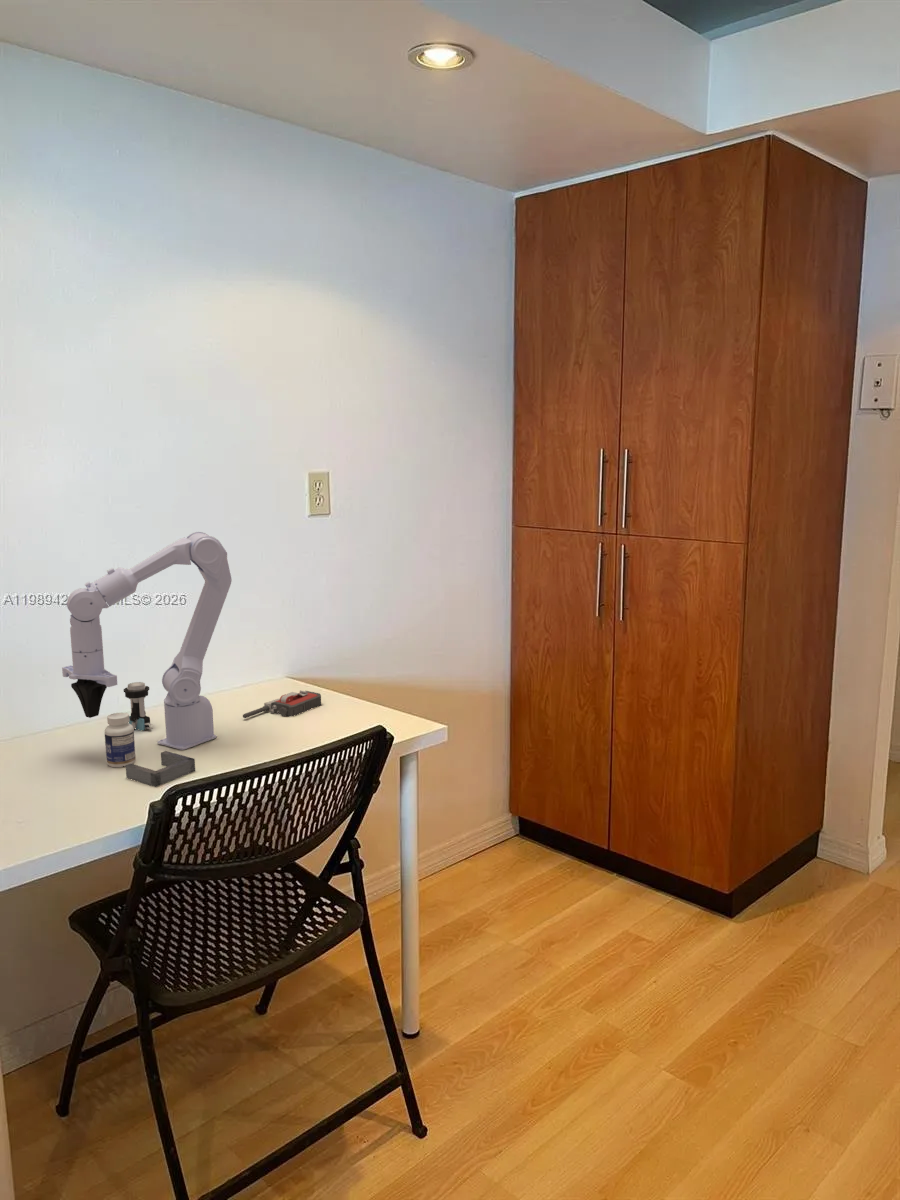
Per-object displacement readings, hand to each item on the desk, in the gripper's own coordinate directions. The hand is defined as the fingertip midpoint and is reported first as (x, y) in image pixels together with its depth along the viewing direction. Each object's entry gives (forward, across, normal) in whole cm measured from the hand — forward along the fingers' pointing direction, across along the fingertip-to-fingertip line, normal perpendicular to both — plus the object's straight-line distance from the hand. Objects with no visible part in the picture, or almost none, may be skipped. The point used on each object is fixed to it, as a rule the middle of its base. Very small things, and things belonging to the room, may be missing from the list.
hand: (92, 716), depth 179 cm
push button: (+8, -6, +16) cm, 19 cm away
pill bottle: (+8, +8, 0) cm, 12 cm away
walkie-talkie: (+9, +12, +42) cm, 45 cm away
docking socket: (+8, +19, 0) cm, 21 cm away
